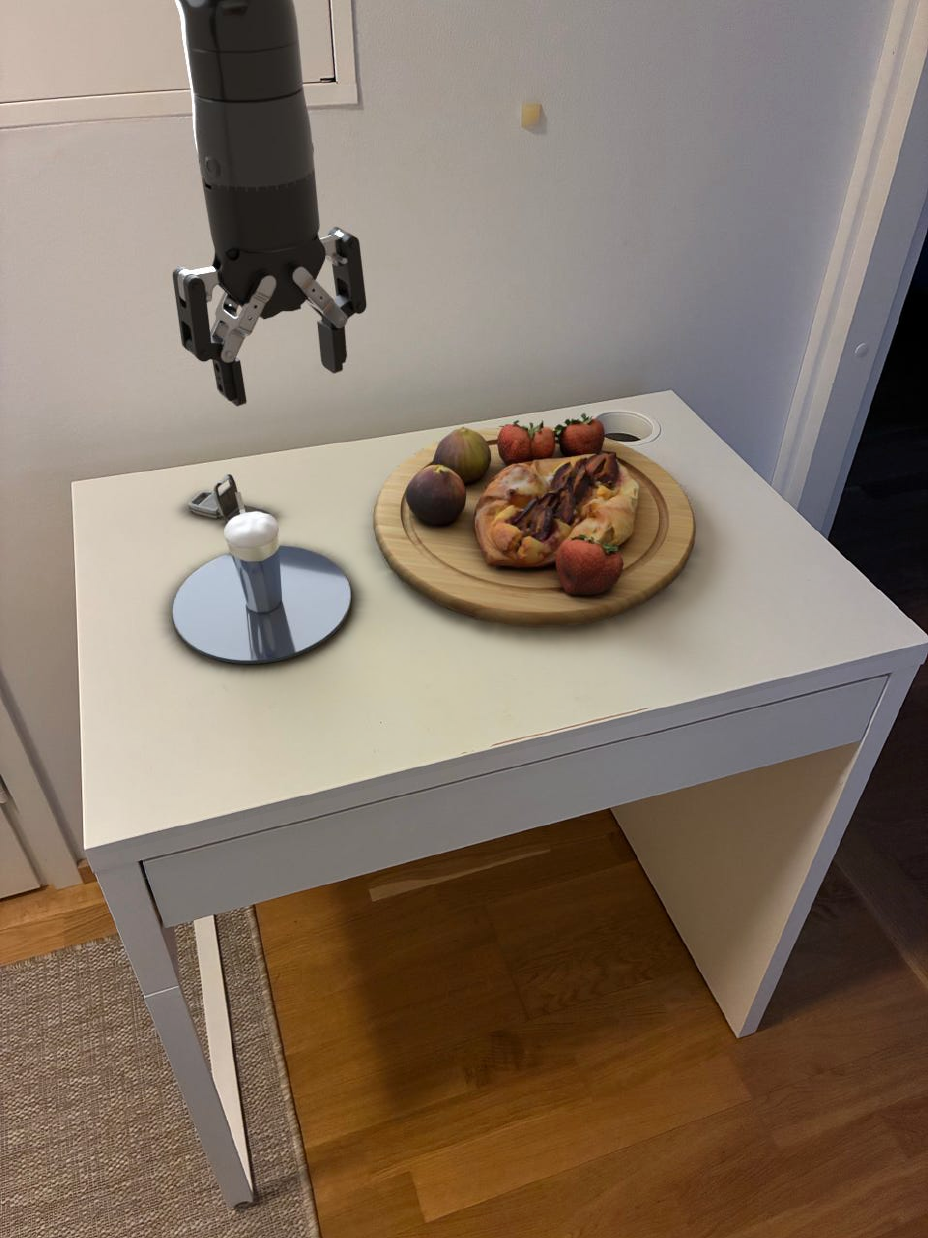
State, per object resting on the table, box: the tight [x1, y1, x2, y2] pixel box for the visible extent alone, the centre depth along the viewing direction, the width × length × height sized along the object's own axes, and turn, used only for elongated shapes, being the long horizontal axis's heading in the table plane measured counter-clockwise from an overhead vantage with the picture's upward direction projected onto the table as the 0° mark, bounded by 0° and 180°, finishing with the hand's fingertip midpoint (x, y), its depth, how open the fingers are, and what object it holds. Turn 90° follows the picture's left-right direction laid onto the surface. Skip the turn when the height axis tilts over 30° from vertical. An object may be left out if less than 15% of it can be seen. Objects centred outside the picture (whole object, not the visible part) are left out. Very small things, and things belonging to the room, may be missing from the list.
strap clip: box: [187, 473, 271, 523], centre depth 96 cm, size 8×3×4 cm, turn 65°
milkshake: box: [223, 491, 282, 613], centre depth 84 cm, size 4×5×10 cm
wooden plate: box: [372, 412, 697, 627], centre depth 94 cm, size 32×32×8 cm
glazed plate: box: [171, 545, 352, 665], centre depth 87 cm, size 16×16×1 cm
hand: (285, 384), depth 75 cm, fingers open, 8 cm apart
